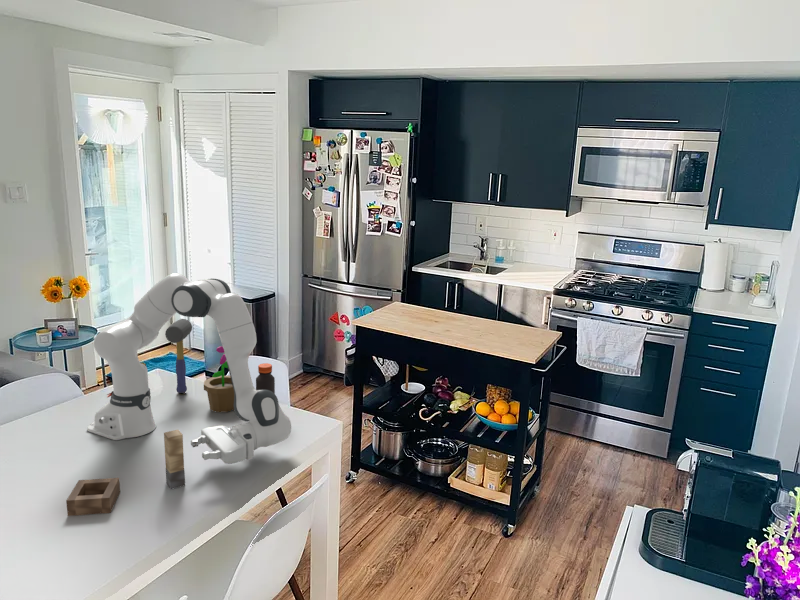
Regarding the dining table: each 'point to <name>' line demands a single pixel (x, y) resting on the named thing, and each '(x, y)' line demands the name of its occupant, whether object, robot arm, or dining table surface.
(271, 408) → the robot arm
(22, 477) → the dining table surface
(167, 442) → the light wooden block
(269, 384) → the bottle
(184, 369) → the rubber mallet
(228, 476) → the dining table surface
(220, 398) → the flowerpot
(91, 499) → the wooden square ring
